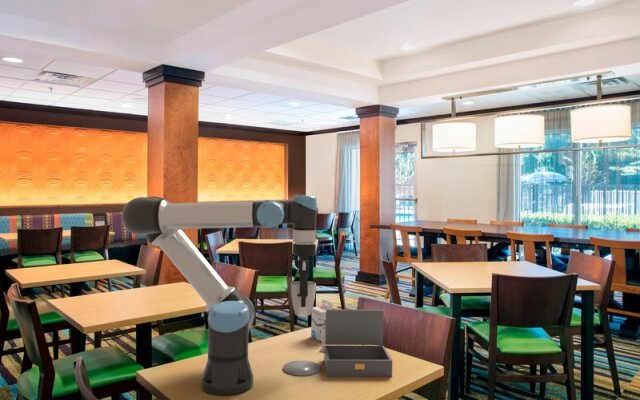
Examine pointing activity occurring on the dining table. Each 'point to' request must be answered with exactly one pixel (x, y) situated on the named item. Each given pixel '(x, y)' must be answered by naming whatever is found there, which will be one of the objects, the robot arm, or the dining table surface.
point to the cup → (311, 295)
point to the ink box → (319, 320)
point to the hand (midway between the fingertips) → (302, 313)
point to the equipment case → (355, 331)
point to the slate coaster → (301, 368)
